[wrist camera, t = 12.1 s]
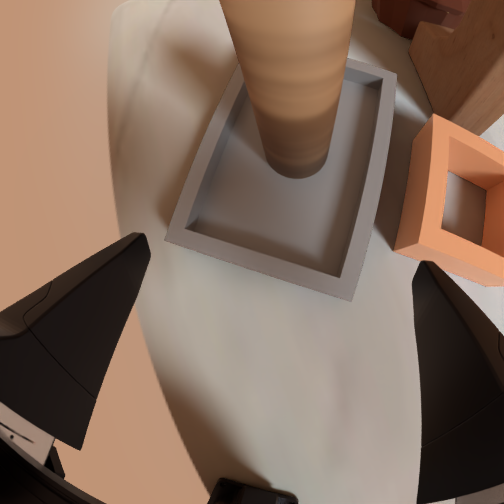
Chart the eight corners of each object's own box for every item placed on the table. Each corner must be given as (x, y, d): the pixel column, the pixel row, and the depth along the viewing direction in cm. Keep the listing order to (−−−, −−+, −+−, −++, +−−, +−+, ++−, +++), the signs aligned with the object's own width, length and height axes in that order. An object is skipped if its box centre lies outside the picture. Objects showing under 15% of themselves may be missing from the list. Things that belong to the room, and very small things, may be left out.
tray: (343, 299, 17) (351, 301, 14) (180, 245, 19) (164, 240, 16) (388, 92, 18) (397, 73, 15) (255, 60, 19) (250, 40, 17)
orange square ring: (485, 286, 15) (518, 286, 11) (393, 251, 17) (418, 243, 13) (496, 182, 16) (525, 166, 12) (412, 140, 17) (433, 113, 13)
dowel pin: (333, 175, 17) (388, -37, 3) (269, 183, 17) (199, -29, 3) (320, 120, 17) (332, -79, 3) (261, 128, 18) (202, -68, 4)
